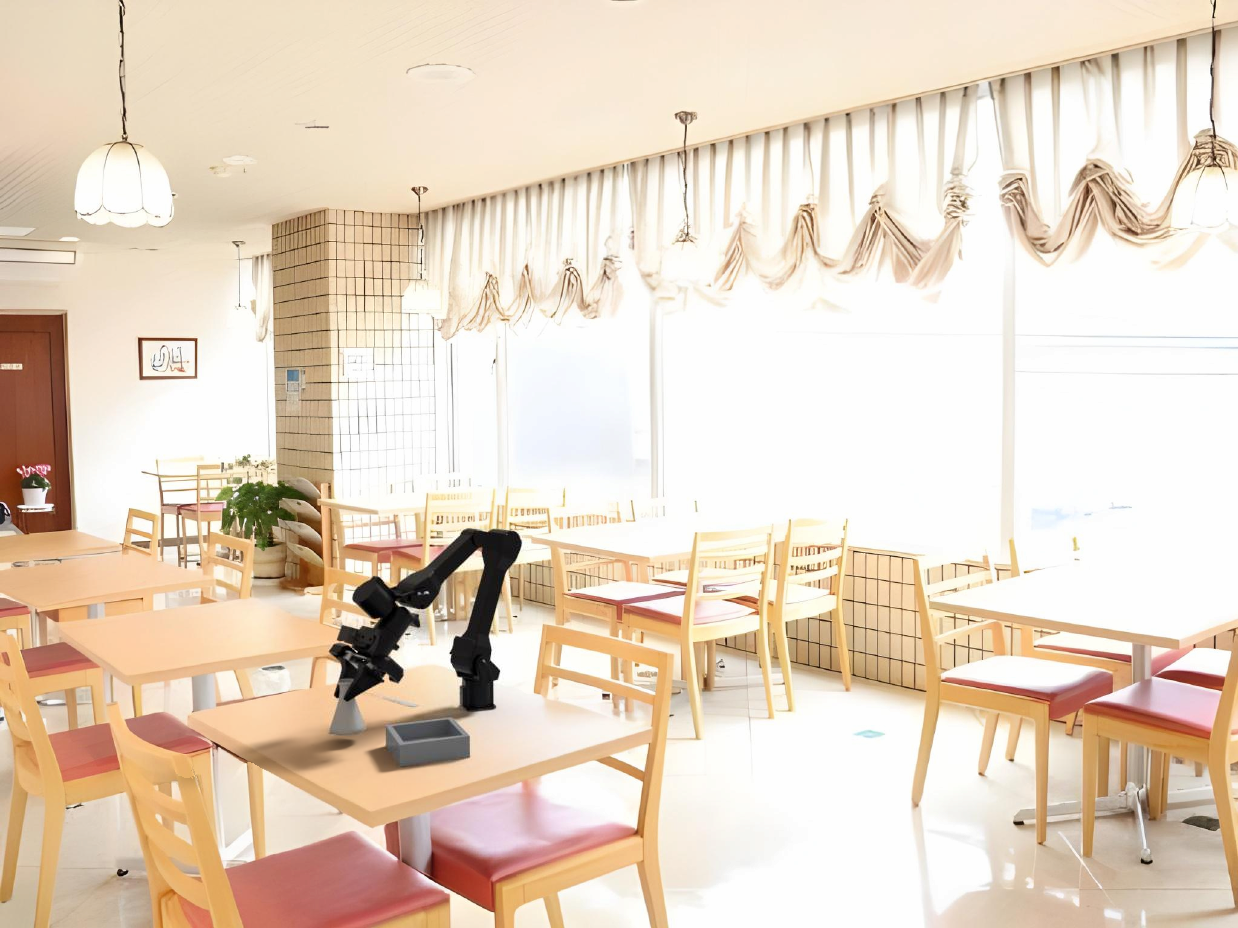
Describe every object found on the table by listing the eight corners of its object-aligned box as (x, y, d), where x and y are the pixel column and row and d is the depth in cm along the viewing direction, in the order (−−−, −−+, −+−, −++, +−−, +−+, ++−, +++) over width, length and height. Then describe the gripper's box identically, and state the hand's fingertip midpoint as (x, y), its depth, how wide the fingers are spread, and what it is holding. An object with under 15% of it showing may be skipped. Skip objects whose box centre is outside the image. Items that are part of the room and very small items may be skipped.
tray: (452, 736, 207) (452, 717, 207) (470, 756, 195) (469, 735, 195) (386, 745, 202) (385, 725, 201) (400, 766, 190) (399, 744, 189)
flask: (371, 725, 207) (370, 675, 207) (359, 737, 200) (357, 685, 200) (336, 724, 208) (335, 675, 207) (322, 736, 201) (321, 685, 200)
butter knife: (409, 707, 227) (420, 703, 229) (334, 688, 244) (345, 684, 246) (409, 710, 227) (420, 706, 229) (334, 690, 244) (345, 687, 246)
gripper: (336, 602, 212) (287, 667, 205) (389, 615, 199) (339, 684, 192) (370, 634, 218) (324, 698, 211) (424, 648, 205) (377, 716, 198)
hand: (340, 698), depth 203 cm, fingers closed on flask, 3 cm apart
